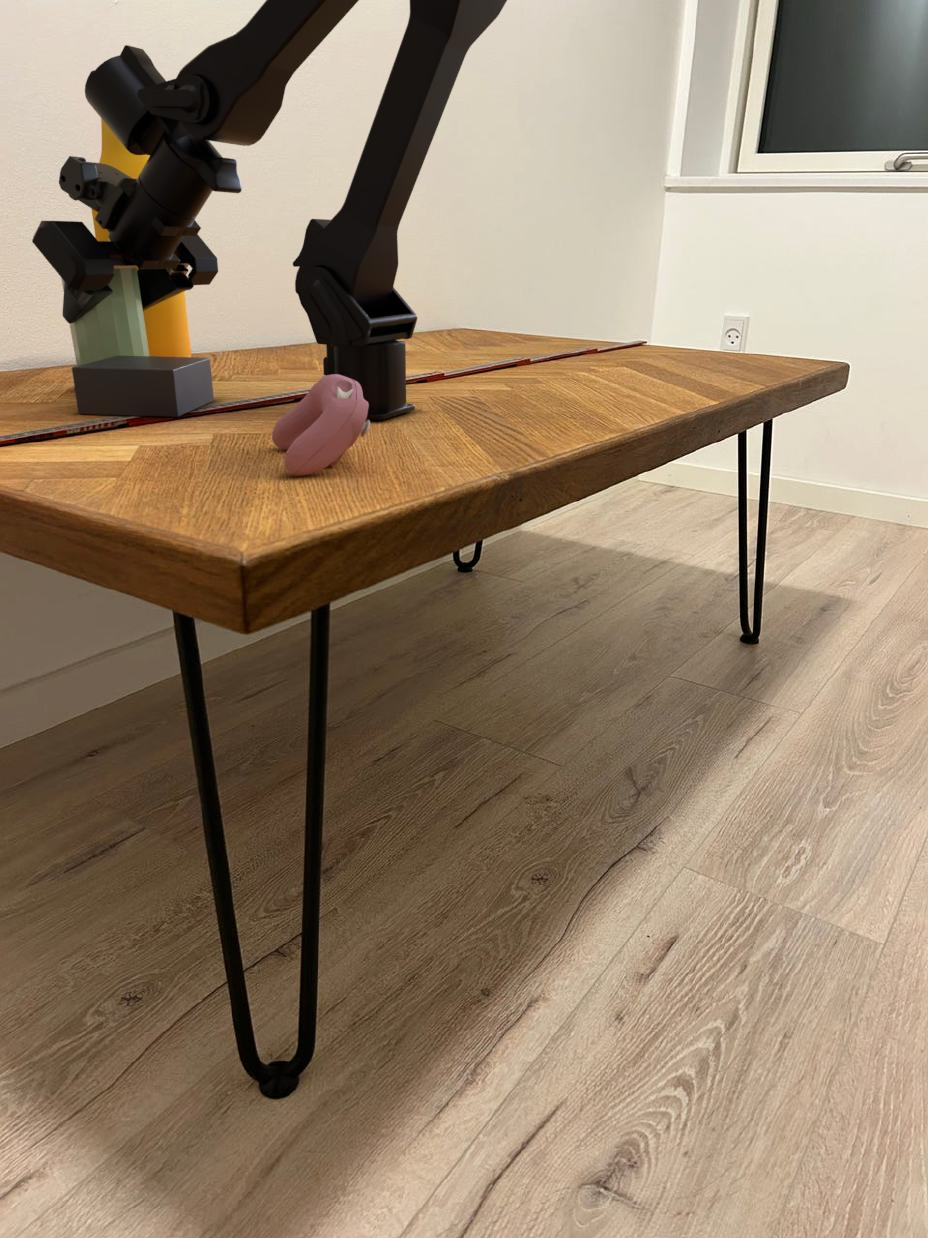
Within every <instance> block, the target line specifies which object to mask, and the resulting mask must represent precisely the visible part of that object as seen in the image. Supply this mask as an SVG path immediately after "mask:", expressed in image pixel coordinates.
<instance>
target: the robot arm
mask: <svg viewBox="0 0 928 1238" xmlns="http://www.w3.org/2000/svg"><path fill="white" fill-rule="evenodd" d="M359 1H360V0H264V3H262V5H261V6H260V7H259V8H258V10H257V11H256V12H255V13H254V14H253V16H252V17H251V18H250V19H249V21H248V22H247V23H246V24H245V25H244V26H243V27H242V28H241V29H240V30H238V31H236V32H235V33H234V34H233V35H231V36H228V37H226V38H223V39H221V40H219V41H216V42H214V43H212V44H210V45H207V46H206V47H204V49H203V50H202V51H200V52H199V53H198V54H197V55H196V56H195V57H193V58H192V59H191V60H190V61H188V62H187V63H186V64H185V65H184V66H183V67H181V69H180V70H179V72H178V74H177V75H176V77H175V78H172V79H170V80H166V78H164V76H163V75H162V74H161V73H160V72H159V70H158V69H157V68H156V66H155V64H154V63H153V61H152V59H151V58H150V56H149V55H148V54H147V52H145V50H144V48H141V47H136V46H132V45H128V44H126V45H124V46H123V48H122V50H121V51H120V54H119V55H116V56H112V57H110V58H108V59H107V60H104V61H103V62H102V63H100V64H99V65H98V66H97V67H96V69H94V70H91V71H90V73H89V75H88V76H87V79H86V81H85V85H84V96H85V99H86V100H87V102H88V104H89V105H90V107H91V108H92V109H93V111H94V112H95V113H97V115H98V116H99V118H100V119H101V118H102V120H103V121H104V122H105V123H106V125H107V126H108V127H109V128H110V129H111V131H112V132H113V133H114V134H115V136H116V137H117V138H118V139H119V140H120V142H121V143H122V144H123V145H124V147H125V148H126V149H127V150H128V151H129V152H130V153H132V154H134V155H150V157H149V159H148V161H147V162H146V164H145V166H144V168H143V169H142V171H141V173H140V175H139V176H138V178H137V179H133V178H131V177H129V176H128V175H126V174H124V173H123V172H121V171H119V170H118V169H116V168H114V167H112V166H110V165H107V164H102V163H99V162H92V161H87V159H86V158H85V157H83V156H73V155H69V156H68V158H66V161H65V162H64V163H63V165H62V167H61V168H60V170H59V178H58V184H59V187H60V190H62V191H63V192H64V193H66V194H68V197H69V198H70V199H72V200H73V201H79V202H80V203H82V204H83V205H85V206H87V207H88V208H90V209H91V208H92V209H93V210H95V211H97V212H98V214H97V216H96V218H95V220H96V221H97V223H98V224H99V225H100V226H101V227H102V229H107V230H108V231H109V235H108V237H109V239H108V241H97V239H96V238H95V235H93V233H92V232H91V230H90V229H89V228H88V227H87V226H86V224H85V223H84V222H83V221H74V220H41V221H40V223H39V224H38V226H37V229H36V230H35V232H34V234H33V237H32V240H31V242H32V244H33V245H34V246H35V247H36V249H38V251H39V253H41V255H42V256H43V257H44V258H45V259H46V261H47V262H48V263H49V264H50V265H51V267H52V268H53V270H54V271H55V272H56V273H57V274H58V275H59V277H60V279H61V278H62V279H63V280H64V290H63V298H62V300H63V301H62V317H63V319H64V321H66V322H67V324H69V323H74V322H75V321H76V320H78V319H79V318H81V317H82V316H83V315H85V314H86V313H87V312H89V311H90V310H91V309H92V308H94V307H95V306H96V305H97V304H99V303H100V302H101V301H103V300H104V299H105V298H106V297H108V296H109V295H110V294H111V293H112V292H113V290H112V289H111V288H110V287H109V286H108V284H109V283H110V282H111V280H112V278H113V277H114V275H115V273H114V268H139V269H138V270H137V274H138V281H139V288H140V295H141V302H142V308H143V311H144V310H146V309H148V308H150V307H152V306H154V305H155V304H158V303H160V302H162V301H164V300H166V299H169V298H171V297H173V296H175V295H177V294H179V293H182V292H184V291H185V292H186V291H191V290H192V289H194V287H195V286H209V285H211V284H212V282H213V280H214V279H215V277H216V275H217V274H218V272H219V264H218V263H219V262H218V257H217V256H216V255H215V253H213V251H212V250H211V249H210V247H209V245H207V244H206V243H205V242H204V240H203V239H202V237H200V235H199V232H200V231H201V229H202V227H201V226H200V225H199V224H198V222H197V221H196V218H197V217H198V215H199V213H200V212H201V210H202V209H203V207H204V205H205V204H206V202H207V201H208V199H209V197H210V196H211V195H212V193H213V192H215V193H230V194H240V193H241V192H242V190H243V189H242V182H241V177H240V176H239V173H238V168H237V167H238V166H237V164H238V163H237V160H236V159H235V158H230V157H223V155H222V154H220V152H219V151H218V149H217V148H216V147H215V146H214V144H213V143H212V142H215V143H222V144H228V145H236V146H243V147H249V146H253V145H256V144H257V143H258V142H259V141H260V140H261V139H263V137H264V135H265V134H266V132H267V131H268V129H269V128H270V126H271V124H273V121H274V120H275V119H276V117H277V115H278V114H279V112H280V110H281V109H282V107H283V102H284V97H285V93H286V87H287V85H288V83H289V81H290V80H291V78H292V77H293V75H294V74H295V73H296V71H297V70H298V69H299V68H300V67H301V66H302V64H303V63H304V62H305V61H306V60H307V59H308V57H309V56H310V55H312V53H313V52H314V51H315V50H316V49H317V48H318V47H319V46H320V45H321V43H322V42H323V41H324V40H325V39H326V37H328V36H329V35H330V33H331V32H332V31H333V30H334V29H335V28H336V27H337V25H338V24H339V23H340V22H341V21H342V20H343V19H344V18H345V16H346V15H347V14H348V13H349V12H350V11H351V10H352V9H353V8H354V7H355V5H356V4H357V3H358V2H359ZM507 1H508V0H409V15H408V21H407V25H406V28H405V29H404V30H405V31H404V34H403V36H402V39H401V42H400V45H399V48H398V50H397V53H396V56H395V59H394V62H393V65H392V67H391V70H390V73H389V75H388V78H387V80H386V84H385V86H384V89H383V92H382V95H381V98H380V101H379V104H378V106H377V109H376V112H375V115H374V117H373V121H372V123H371V126H370V129H369V132H368V134H367V137H366V141H365V143H364V146H363V149H362V151H361V154H360V157H359V160H358V163H357V165H356V168H355V171H354V173H353V176H352V180H351V182H350V186H349V188H348V191H347V193H346V196H345V199H344V202H343V204H342V206H341V208H340V209H339V211H337V213H336V214H335V215H334V216H333V217H332V218H331V219H325V218H324V219H322V218H311V219H310V220H309V222H308V224H307V226H306V228H305V233H304V239H303V244H302V247H301V250H300V252H299V254H298V256H297V257H296V258H295V259H294V261H293V262H292V266H293V267H295V268H297V267H298V269H297V271H296V275H295V280H294V291H295V293H296V294H297V296H298V299H299V303H300V305H301V307H302V308H303V310H304V311H305V313H306V315H307V319H308V321H309V324H310V326H311V330H312V332H313V336H314V338H315V341H316V343H317V344H318V345H325V346H326V347H325V348H326V356H325V357H324V358H323V359H322V367H323V376H324V375H326V376H327V375H332V374H339V375H342V376H345V377H348V378H351V379H353V380H355V381H357V382H358V383H359V384H360V386H361V388H362V392H363V398H364V399H365V400H366V401H367V402H368V404H369V407H368V413H367V418H366V420H376V421H380V420H381V421H383V420H386V419H389V418H392V417H395V416H399V415H402V414H405V413H409V412H413V411H415V410H416V404H414V403H407V363H406V361H407V360H406V359H407V357H406V355H407V354H406V353H407V352H406V341H404V340H409V339H412V338H413V334H414V331H415V328H416V325H417V321H418V315H417V314H416V312H415V311H414V310H413V309H412V308H411V306H410V305H409V304H408V302H407V301H406V300H405V299H404V298H403V297H402V296H401V294H400V293H399V292H398V290H396V289H395V287H394V286H395V282H396V277H397V272H398V268H399V243H398V232H399V227H400V224H401V221H402V219H403V216H404V214H405V210H406V208H407V205H408V203H409V201H410V198H411V196H412V193H413V191H414V188H415V185H416V183H417V180H418V177H419V176H420V172H421V170H422V168H423V166H424V163H425V160H426V157H427V155H428V153H429V150H430V147H431V145H432V142H433V140H434V137H435V134H436V132H437V129H438V127H439V124H440V123H441V119H442V116H443V114H444V112H445V109H446V107H447V104H448V101H449V98H450V96H451V94H452V91H453V88H454V86H455V83H456V81H457V78H458V76H459V74H460V70H461V68H462V66H463V63H464V60H465V58H466V56H467V53H468V51H469V50H470V48H471V47H472V45H474V43H475V42H476V41H477V40H478V39H479V38H480V36H482V34H483V33H484V32H485V31H486V30H487V29H488V28H489V27H490V26H491V24H493V22H495V20H496V19H497V18H498V17H499V15H500V14H501V12H502V11H503V8H504V7H505V6H506V3H507ZM92 209H91V210H92ZM189 266H190V268H191V270H189V268H188V267H189ZM189 271H190V272H189ZM62 279H61V280H62Z"/></svg>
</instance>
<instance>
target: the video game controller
mask: <svg viewBox="0 0 928 1238" xmlns="http://www.w3.org/2000/svg"><path fill="white" fill-rule="evenodd" d="M368 407H369V404H368V402H367V401H366V400H365V399H364V398H363V392H362V388H361V386H360V384H359V383H358V382H357V381H355V380H353V379H351V378H348V377H345V376H342V375H339V374H332V375H327V376H326V375H324V374H323V375H322V376H321V378H320V379H319V380H318V382H315V383H313V385H312V387H311V388H310V389H309V390H308V392H307V394H305V396H304V397H303V398H302V399H301V400H300V401H299V402H298V403H297V404H295V406H293V407H292V408H291V409H289V410H288V411H287V412H286V413H284V415H282V416H281V417H280V418H279V419H278V420H277V422H276V424H275V425H274V427H273V428H272V429H273V430H272V432H271V433H272V434H271V440H272V442H273V444H274V445H275V447H277V448H278V449H279V450H283V451H284V450H285V451H286V452H285V455H284V465H285V468H286V469H287V471H288V472H289V473H290V474H291V475H293V476H296V477H300V476H306V475H311V474H314V473H316V472H319V471H321V470H324V469H325V468H326V467H328V466H329V465H331V466H336V465H338V463H339V462H340V460H341V459H342V457H344V454H345V453H346V452H347V451H348V449H350V448H351V447H352V446H353V445H354V444H355V443H356V441H357V440H358V438H359V437H361V438H364V437H365V436H366V435H367V434H369V432H370V429H371V420H370V419H366V418H367V413H368Z"/></svg>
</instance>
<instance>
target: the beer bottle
mask: <svg viewBox="0 0 928 1238" xmlns="http://www.w3.org/2000/svg"><path fill="white" fill-rule="evenodd" d="M100 123H101V124H100V125H101V126H100V127H101V153H100V157H99V162H98V163H102V164H107V165H110V166H112V167H114V168H116V169H118V170H119V171H121V172H123V173H124V174H126V175H128V176H129V177H131V178H133V179H137V178H138V176H139V175H140V173H141V171H142V169H143V168H144V166H145V164H146V162H147V161H148V159H149V157H150V155H134V154H132V153H130V152H129V151H128V150H127V149H126V148H125V147H124V145H123V144H122V143H121V142H120V140H119V139H118V138H117V137H116V136H115V134H114V133H113V132H112V131H111V129H110V128H109V127H108V126H107V125H106V123H105V122H104V121H103V120H102V118H101V117H100ZM90 209H91V216H92V221H93V230H94V237H95V238H96V239H97V241H108V239H109V237H108V235H109V231H108V230H107V229H102V227H101V226H100V225H99V224H98V223H97V221H96V220H95V218H96V216H97V214H98V212H97V211H95V210H93V209H92V208H90ZM138 269H139V268H137V270H138ZM143 315H144V322H145V329H146V336H147V342H148V349H149V356H157V357H192V346H191V340H190V331H189V321H188V312H187V301H186V291H184V292H182V293H179V294H177V295H175V296H173V297H171V298H169V299H166V300H164V301H162V302H160V303H158V304H155V305H154V306H152V307H150V308H148V309H146V310H144V311H143Z"/></svg>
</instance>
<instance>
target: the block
mask: <svg viewBox="0 0 928 1238" xmlns="http://www.w3.org/2000/svg"><path fill="white" fill-rule="evenodd" d="M71 372H72V378H73V385H74V393H75V398H76V406H77V413H78V415H88V416H89V415H91V416H93V415H95V416H97V415H98V416H124V417H125V416H129V417H155V418H156V417H161V418H162V417H163V418H179V417H181V416H183V415H185V414H188V413H190V412H193V411H194V410H196V409H199V408H201V407H203V406H205V405H208V404H210V403H212V402H214V400H215V399H214V389H213V378H212V365H211V357H198V356H197V357H195V356H194V357H193V356H191V357H157V356H115V357H111V358H107V359H103V360H99V361H95V362H91V363H87V364H83V365H79V366H77V365H75V366H72V367H71Z"/></svg>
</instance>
